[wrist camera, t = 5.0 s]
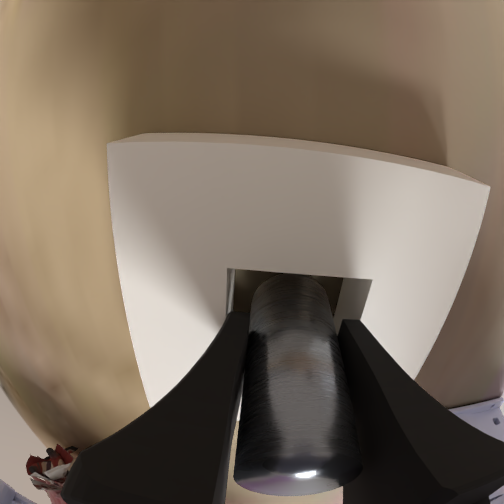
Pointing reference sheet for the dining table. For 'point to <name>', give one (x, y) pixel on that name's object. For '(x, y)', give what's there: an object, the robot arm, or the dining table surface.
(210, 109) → the dining table surface
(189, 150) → the socket block
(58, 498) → the toy
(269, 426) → the peg
